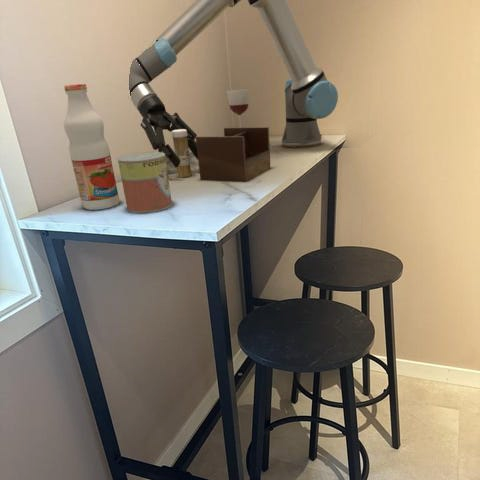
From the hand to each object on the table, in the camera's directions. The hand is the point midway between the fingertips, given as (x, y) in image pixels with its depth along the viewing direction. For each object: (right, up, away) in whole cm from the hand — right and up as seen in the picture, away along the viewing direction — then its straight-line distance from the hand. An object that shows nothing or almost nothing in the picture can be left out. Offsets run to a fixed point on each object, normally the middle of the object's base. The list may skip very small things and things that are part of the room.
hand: (190, 161), depth 140 cm
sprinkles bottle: (-2, -3, +4) cm, 6 cm away
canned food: (-7, -20, -24) cm, 32 cm away
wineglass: (+16, +24, +50) cm, 58 cm away
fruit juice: (-21, -19, -20) cm, 34 cm away
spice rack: (+14, -3, +1) cm, 14 cm away
